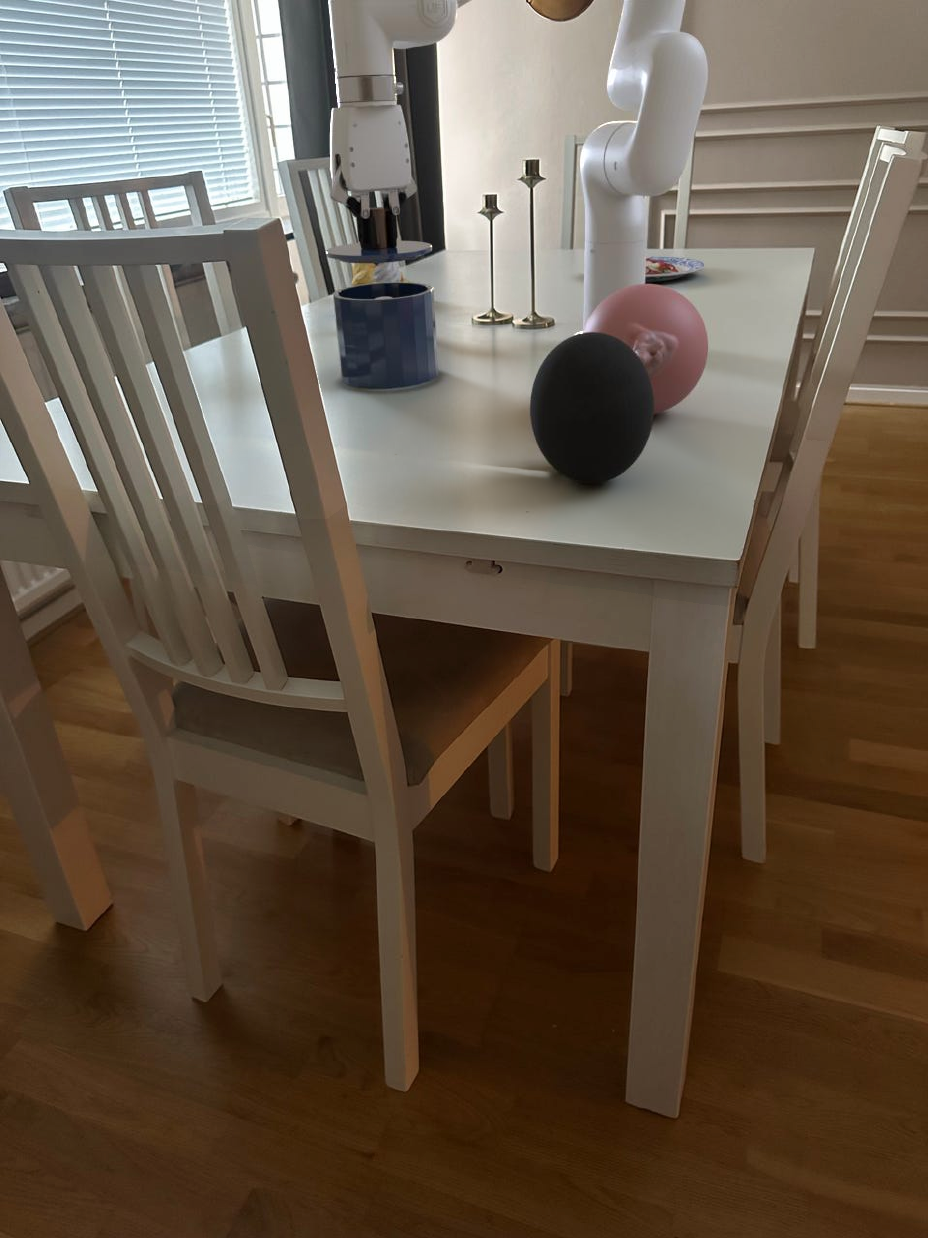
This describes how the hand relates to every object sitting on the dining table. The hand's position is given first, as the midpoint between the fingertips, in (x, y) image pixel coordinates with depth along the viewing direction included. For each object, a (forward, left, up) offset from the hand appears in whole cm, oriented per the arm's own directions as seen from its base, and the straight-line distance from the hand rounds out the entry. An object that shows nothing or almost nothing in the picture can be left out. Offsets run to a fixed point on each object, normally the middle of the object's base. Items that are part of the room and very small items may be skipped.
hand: (378, 246), depth 127 cm
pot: (0, 0, -18) cm, 18 cm away
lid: (0, 0, -1) cm, 1 cm away
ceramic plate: (-13, -93, -18) cm, 96 cm away
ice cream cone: (+16, -30, -18) cm, 39 cm away
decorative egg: (-41, +30, -19) cm, 54 cm away
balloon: (-40, +8, -19) cm, 44 cm away
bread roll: (+32, -55, -18) cm, 67 cm away
